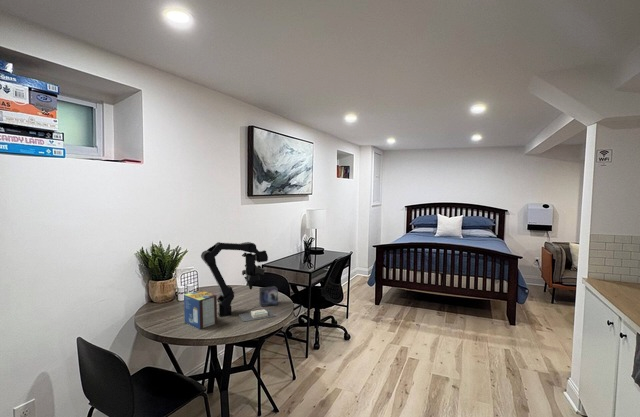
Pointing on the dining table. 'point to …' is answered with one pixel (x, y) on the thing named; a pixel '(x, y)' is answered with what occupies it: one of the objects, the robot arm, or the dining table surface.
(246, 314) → the rubber mat
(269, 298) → the small box
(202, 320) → the protein box
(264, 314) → the cream slab
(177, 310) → the dining table surface
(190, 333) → the dining table surface
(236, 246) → the robot arm
